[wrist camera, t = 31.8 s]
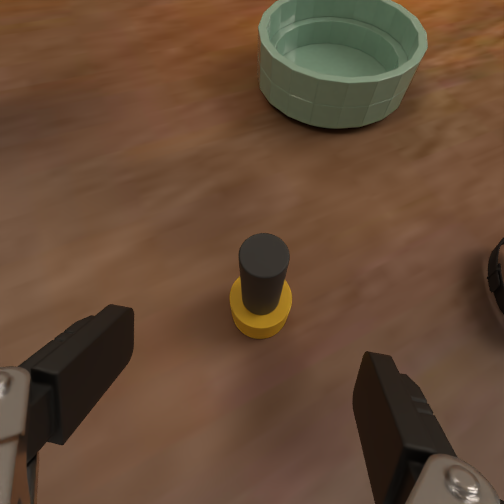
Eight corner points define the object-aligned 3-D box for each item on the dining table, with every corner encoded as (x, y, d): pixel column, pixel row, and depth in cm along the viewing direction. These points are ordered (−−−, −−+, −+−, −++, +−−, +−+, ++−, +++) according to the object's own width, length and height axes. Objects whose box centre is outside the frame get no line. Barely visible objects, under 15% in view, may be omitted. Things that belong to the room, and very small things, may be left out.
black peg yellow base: (221, 320, 22) (204, 268, 14) (250, 276, 24) (249, 206, 16) (270, 350, 21) (281, 311, 13) (297, 301, 23) (321, 241, 15)
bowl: (230, 100, 33) (227, 46, 28) (297, 29, 39) (303, -26, 35) (371, 156, 30) (395, 105, 25) (420, 68, 36) (446, 13, 31)
